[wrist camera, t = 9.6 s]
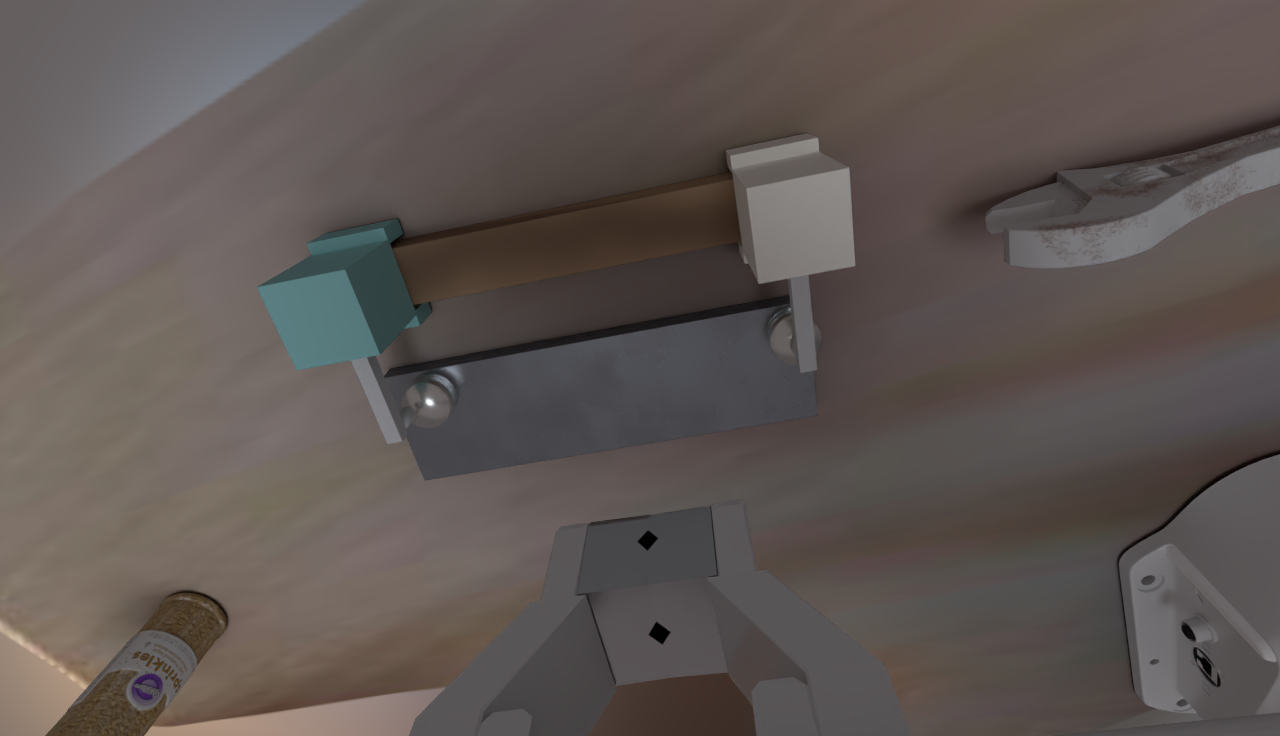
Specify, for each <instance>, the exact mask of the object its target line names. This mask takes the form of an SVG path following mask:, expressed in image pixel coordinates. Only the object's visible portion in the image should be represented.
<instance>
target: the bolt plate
mask: <svg viewBox="0 0 1280 736" xmlns="http://www.w3.org/2000/svg"><path fill="white" fill-rule="evenodd" d="M812 319H813V318H812ZM813 329H814V340H815V351H816V354H817V352H818V351H819V349H820V347H821V343H822V334H821V331H820V329H819V327H818V326H817V324H816V323H815V321H814V319H813ZM793 338H794V334H793V325H792V316H791V307H790V297H789V296H784V297H778V298H773V299H767V300H762V301H756V302H751V303H746V304H740V305H735V306H729V307H724V308H718V309H713V310H708V311H702V312H697V313H691V314H686V315H680V316H675V317H670V318H664V319H659V320H653V321H648V322H643V323H637V324H632V325H626V326H621V327H615V328H610V329H605V330H599V331H594V332H588V333H583V334H577V335H572V336H567V337H561V338H556V339H550V340H545V341H539V342H534V343H529V344H523V345H518V346H512V347H507V348H502V349H496V350H491V351H485V352H480V353H474V354H469V355H464V356H458V357H453V358H447V359H442V360H436V361H431V362H426V363H420V364H415V365H409V366H404V367H398V368H393V369H390V370H389V371H388V372H387V373H386V374H385V376H384V377H385V380H386V382H387V385H388V387H389V389H390V392H391V394H392V397H393V399H394V401H395V404H396V406H397V409H398V411H399V412H400V410H401V409H402V408H403V407H405V406H409V407H412V408H413V409H414V410H415V412H416V415H415V417H414V419H413V420H412V422H411V423H410V425H409V426H408V428H407V429H406V430H407V433H408V434H407V435H406V437H407V439H408V442H409V444H410V446H411V449H412V451H413V453H414V456H415V458H416V461H417V463H418V465H419V468H420V470H421V472H422V475H423V477H424V480H431V479H437V478H443V477H449V476H455V475H461V474H467V473H473V472H479V471H485V470H491V469H497V468H503V467H509V466H515V465H521V464H527V463H534V462H540V461H546V460H552V459H558V458H564V457H570V456H576V455H582V454H588V453H594V452H600V451H606V450H612V449H618V448H624V447H630V446H636V445H642V444H648V443H654V442H660V441H666V440H672V439H678V438H685V437H691V436H697V435H703V434H709V433H715V432H721V431H727V430H733V429H739V428H745V427H751V426H757V425H763V424H769V423H775V422H781V421H787V420H793V419H799V418H805V417H811V416H817V415H818V411H817V401H816V390H815V380H814V371H809V372H804V373H800V371H799V369H798V367H797V362H796V358H795V356H794V354H793V352H792V350H791V348H790V341H791V340H792V339H793Z"/></svg>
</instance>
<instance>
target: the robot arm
mask: <svg viewBox="0 0 1280 736" xmlns="http://www.w3.org/2000/svg"><path fill="white" fill-rule="evenodd" d="M1119 571H1120V579H1121V587H1122V595H1123V603H1124V611H1125V619H1126V627H1127V635H1128V643H1129V651H1130V659H1131V667H1132V675H1133V683H1134V690H1135V693H1136V695H1137V696H1138V697H1139V698H1140V699H1141V700H1142V701H1143V702H1144V703H1145V704H1146V705H1148V706H1150V707H1153V708H1157V709H1160V710H1164V711H1170V712H1177V713H1195V714H1198V715H1199V716H1200V717H1201V718H1202V719H1203V721H1192V722H1182V723H1172V724H1163V725H1154V726H1143V727H1133V728H1124V729H1114V730H1104V731H1094V732H1084V733H1075V734H1065V735H1055V736H1280V454H1279V455H1276V456H1272V457H1269V458H1266V459H1263V460H1261V461H1258V462H1256V463H1253V464H1251V465H1248V466H1246V467H1244V468H1242V469H1240V470H1238V471H1236V472H1234V473H1232V474H1230V475H1228V476H1227V477H1225V478H1223V479H1222V480H1220V481H1218V482H1217V483H1215V484H1214V485H1212V486H1211V487H1209V488H1208V489H1207V490H1205V491H1204V492H1203V493H1201V494H1200V495H1199V496H1198V497H1197V498H1195V499H1194V500H1193V501H1192V502H1191V503H1190V504H1189V505H1188V506H1187V507H1186V508H1185V509H1184V510H1183V511H1182V512H1181V513H1180V514H1179V515H1178V516H1177V517H1176V518H1175V519H1174V520H1173V521H1172V522H1171V523H1169V524H1168V525H1167V526H1166V527H1165V528H1164V529H1162V530H1161V531H1159V532H1157V533H1155V534H1154V535H1152V536H1150V537H1148V538H1146V539H1145V540H1143V541H1141V542H1140V543H1138V544H1136V545H1135V546H1133V547H1132V548H1130V549H1129V550H1128V551H1126V552H1125V553H1124V554H1123V556H1122V557H1121V559H1120V561H1119ZM725 672H728V675H729V676H730V678H731V679H732V680H733V681H734V683H735V684H736V685H737V686H738V688H739V689H740V690H741V691H742V693H743V694H744V695H745V696H746V698H747V699H748V700H749V701H750V703H751V704H752V705H753V709H754V717H755V725H756V734H757V736H911V734H910V731H909V728H908V726H907V723H906V720H905V718H904V715H903V712H902V709H901V707H900V704H899V701H898V699H897V696H896V693H895V691H894V688H893V685H892V682H891V680H890V677H889V674H888V672H887V669H886V666H885V664H884V663H883V662H881V661H880V660H879V659H878V658H876V657H875V656H874V655H873V654H871V653H870V652H869V651H868V650H866V649H865V648H864V647H863V646H861V645H860V644H859V643H858V642H856V641H855V640H854V639H853V638H851V637H850V636H849V635H848V634H846V633H845V632H844V631H842V630H841V629H840V628H839V627H837V626H836V625H835V624H834V623H832V622H831V621H830V620H829V619H827V618H826V617H825V616H824V615H822V614H821V613H820V612H819V611H817V610H816V609H815V608H814V607H812V606H811V605H810V604H809V603H807V602H806V601H805V600H804V599H802V598H801V597H800V596H799V595H797V594H796V593H795V592H794V591H792V590H791V589H790V588H789V587H787V586H786V585H785V584H784V583H782V582H781V581H780V580H779V579H777V578H776V577H775V576H774V575H772V574H771V573H770V572H769V571H767V570H761V571H757V569H756V563H755V558H754V553H753V547H752V542H751V536H750V531H749V526H748V520H747V515H746V510H745V504H744V502H743V500H742V499H739V500H734V501H728V502H723V503H717V504H712V505H711V506H706V507H700V508H693V509H687V510H680V511H674V512H667V513H661V514H654V515H644V516H636V517H628V518H620V519H612V520H605V521H597V522H591V523H583V524H576V525H569V526H562V527H560V528H559V529H558V531H557V532H556V535H555V539H554V543H553V548H552V552H551V556H550V561H549V565H548V569H547V574H546V578H545V582H544V587H543V591H542V595H541V599H540V601H536V602H531V603H530V604H529V605H528V606H527V607H526V608H525V609H524V610H523V611H522V612H521V613H520V614H519V615H518V616H517V617H516V618H515V619H514V620H513V621H512V622H511V623H510V624H509V625H508V626H507V627H506V628H505V629H504V630H503V631H502V632H501V633H500V634H499V635H498V636H497V637H496V638H495V639H494V640H493V641H492V642H491V643H490V644H489V645H488V646H487V647H486V648H485V649H484V650H483V651H482V652H481V653H480V654H479V655H478V656H477V657H476V658H475V659H474V660H473V661H472V662H471V663H470V664H469V665H468V666H467V667H466V668H465V669H464V670H463V671H462V672H461V673H460V674H459V675H458V676H457V677H456V678H455V679H454V680H453V681H452V682H451V683H450V684H449V685H448V686H447V687H446V688H445V689H444V691H442V692H441V693H440V694H439V695H438V696H437V697H436V698H435V699H434V701H432V702H431V704H429V705H428V707H427V708H426V709H425V710H424V711H423V712H422V713H421V714H420V715H419V716H418V717H417V718H416V719H415V721H414V724H413V727H412V729H411V732H410V734H409V736H588V735H589V733H590V732H591V730H592V728H593V727H594V725H595V724H596V722H597V720H598V719H599V717H600V715H601V713H602V712H603V710H604V709H605V707H606V705H607V704H608V702H609V701H610V699H611V697H612V696H613V694H614V692H615V691H616V686H617V685H623V684H630V683H637V682H643V681H651V680H657V679H664V678H671V677H682V676H693V675H704V674H714V673H725Z"/></svg>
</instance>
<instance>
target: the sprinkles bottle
mask: <svg viewBox="0 0 1280 736" xmlns="http://www.w3.org/2000/svg"><path fill="white" fill-rule="evenodd" d="M226 623H227V622H226V617H225V614H224V612H223V611H222V610H221V609H220V607H219V606H218V605H217V604H215V603H214V602H213V601H211V600H210V599H208V598H206V597H204V596H202V595H197V594H195V593H179V594H175V595H172V596H170V597H168V598H166V599H165V600H164V601H163V603H162V604H161V605H160V607H159V610H158V611H157V612H156V613H155V614H154V615H153V616H152V617H151V618H150V619H149V621H148V622H147V623H146V624H145V625H144V626H143V628H142V629H141V630H140V631H139V632H138V633H137V634H136V635H134V636H133V637H132V638H131V639H130V640H129V641H128V643H127V644H126V645H125V646H124V647H123V648H122V649H121V650H120V652H119V653H118V654H117V655H116V656H115V657H114V658H113V659H112V661H111V662H110V663H109V664H108V665H107V666H106V667H105V668H104V670H103V671H102V672H101V673H100V674H99V675H98V676H97V677H96V678H95V680H94V681H93V682H92V683H91V684H90V685H89V686H88V687H87V688H86V690H85V691H84V692H83V693H82V694H81V695H80V696H79V698H77V700H76V701H75V702H74V703H73V704H72V705H71V707H70V708H69V709H68V711H67V712H66V714H65V715H64V716H63V717H62V718H61V719H60V720H59V721H58V723H57V724H56V725H55V726H54V727H53V728H52V729H51V730H50V731H49V732H48V733H47V734H46V736H144V735H145V734H146V733H147V732H148V730H149V728H150V727H151V726H152V725H153V723H154V722H155V721H156V719H157V718H158V717H159V715H160V714H161V713H162V712H163V711H164V710H165V709H166V708H167V707H168V705H169V704H170V703H171V701H172V700H173V699H174V697H175V696H176V695H177V693H178V692H179V691H180V690H181V688H182V687H183V685H184V684H185V683H186V681H187V680H188V679H189V677H190V676H191V675H192V673H193V672H194V670H195V669H196V667H197V665H198V664H199V662H200V661H201V659H202V658H203V657H204V655H205V654H206V653H207V651H208V650H209V649H210V647H211V646H212V645H213V643H214V642H215V641H216V639H218V638H219V637H220V636H221V635H222V634H223V633H224V631H225V629H226Z"/></svg>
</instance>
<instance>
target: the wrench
mask: <svg viewBox="0 0 1280 736" xmlns="http://www.w3.org/2000/svg"><path fill="white" fill-rule="evenodd" d="M1278 184H1280V125H1279V126H1276V127H1272V128H1269V129H1266V130H1262V131H1259V132H1256V133H1252V134H1249V135H1245V136H1242V137H1238V138H1235V139H1232V140H1228V141H1225V142H1221V143H1218V144H1214V145H1211V146H1208V147H1204V148H1201V149H1197V150H1194V151H1189V152H1184V153H1180V154H1175V155H1170V156H1165V157H1160V158H1155V159H1150V160H1144V161H1137V162H1131V163H1125V164H1118V165H1112V166H1106V167H1100V168H1092V169H1077V170H1063V171H1058V172H1057V182H1056V183H1053V184H1049V185H1046V186H1043V187H1040V188H1036V189H1033V190H1030V191H1026V192H1024V193H1022V194H1019V195H1017V196H1014V197H1012V198H1010V199H1007V200H1005V201H1003V202H1001V203H999V204H997V205H995V206H994V207H992V208H990V209H989V210H988V211H987V212H986V213H985V220H986V230H987V231H989V232H990V233H992V234H997V233H1003V234H1004V261H1005V262H1006V263H1008V264H1009V265H1010V266H1016V267H1024V268H1067V267H1077V266H1088V265H1098V264H1102V263H1106V262H1110V261H1115V260H1119V259H1123V258H1127V257H1131V256H1133V255H1136V254H1139V253H1141V252H1144V251H1147V250H1149V249H1150V248H1152V247H1154V246H1155V245H1156V244H1158V243H1159V242H1160V241H1162V240H1163V239H1165V238H1166V237H1168V236H1169V235H1171V234H1172V233H1174V232H1175V231H1177V230H1178V229H1180V228H1181V227H1183V226H1184V225H1186V224H1187V223H1189V222H1190V221H1192V220H1194V219H1196V218H1198V217H1200V216H1202V215H1204V214H1206V213H1208V212H1210V211H1212V210H1214V209H1216V208H1218V207H1220V206H1222V205H1224V204H1226V203H1228V202H1230V201H1232V200H1234V199H1236V198H1238V197H1240V196H1242V195H1244V194H1248V193H1251V192H1254V191H1258V190H1261V189H1265V188H1268V187H1272V186H1275V185H1278Z"/></svg>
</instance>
